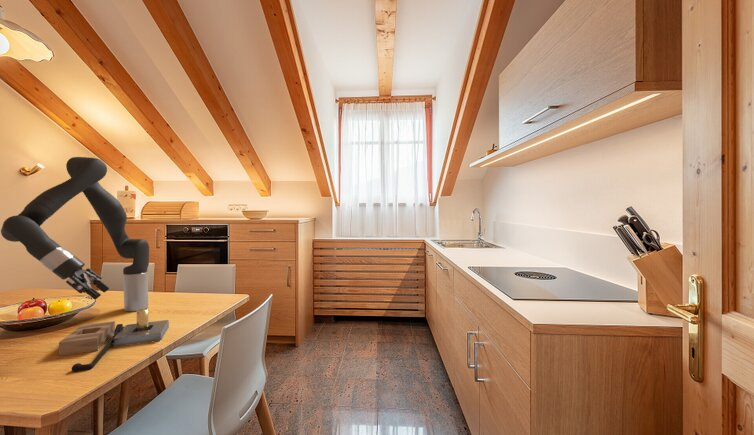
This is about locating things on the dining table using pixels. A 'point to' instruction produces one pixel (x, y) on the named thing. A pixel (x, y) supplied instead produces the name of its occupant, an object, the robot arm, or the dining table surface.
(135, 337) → the block
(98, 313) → the dining table surface
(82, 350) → the brown recessed block
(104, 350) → the wrench
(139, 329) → the gold round-topped peg
